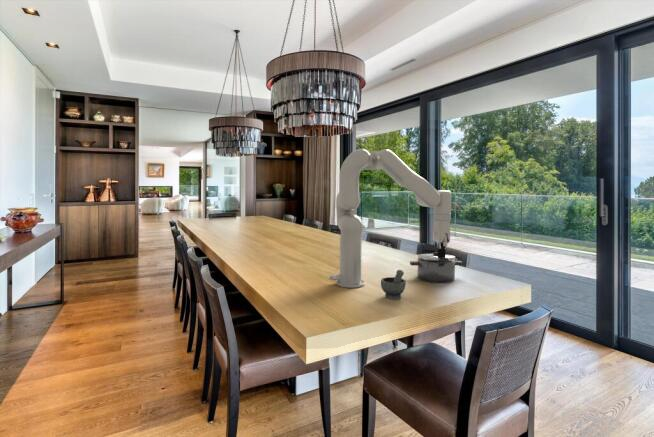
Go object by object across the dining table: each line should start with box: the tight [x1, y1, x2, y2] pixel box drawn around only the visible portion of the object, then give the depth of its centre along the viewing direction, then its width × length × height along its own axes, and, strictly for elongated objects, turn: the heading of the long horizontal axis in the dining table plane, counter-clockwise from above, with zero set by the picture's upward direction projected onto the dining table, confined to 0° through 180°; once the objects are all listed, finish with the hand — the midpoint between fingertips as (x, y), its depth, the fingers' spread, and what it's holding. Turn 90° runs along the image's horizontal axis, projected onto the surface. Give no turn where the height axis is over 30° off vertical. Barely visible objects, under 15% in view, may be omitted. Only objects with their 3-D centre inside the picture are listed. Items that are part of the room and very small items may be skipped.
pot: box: [409, 257, 464, 284], centre depth 171 cm, size 25×18×9 cm
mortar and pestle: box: [380, 269, 407, 301], centre depth 140 cm, size 11×9×12 cm
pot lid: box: [417, 251, 456, 261], centre depth 169 cm, size 17×19×3 cm
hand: (441, 257), depth 164 cm, fingers closed
